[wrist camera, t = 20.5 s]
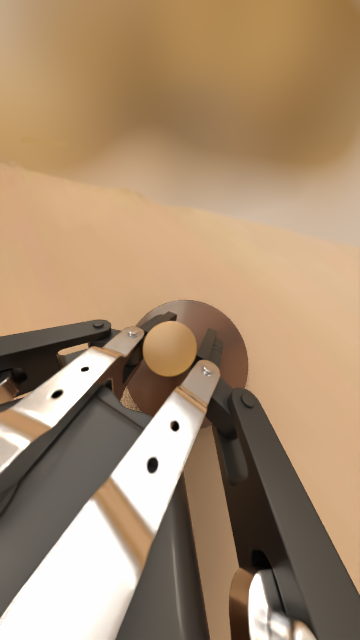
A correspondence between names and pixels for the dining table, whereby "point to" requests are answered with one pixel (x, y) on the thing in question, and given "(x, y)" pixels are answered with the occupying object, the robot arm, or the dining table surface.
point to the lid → (184, 353)
